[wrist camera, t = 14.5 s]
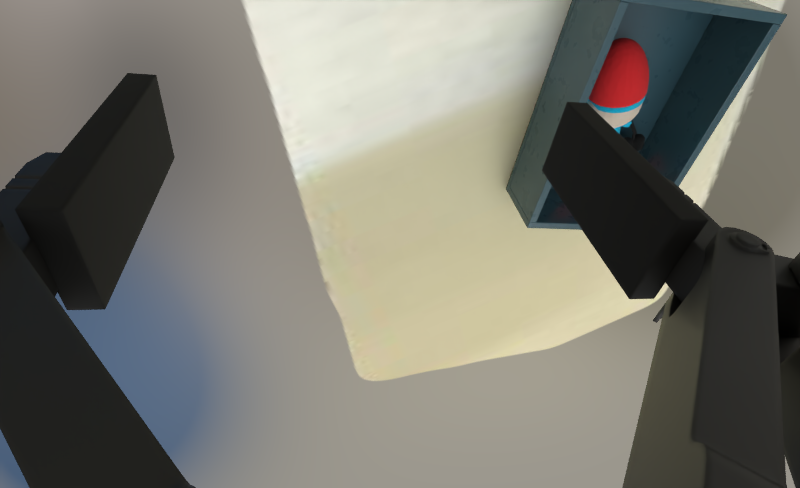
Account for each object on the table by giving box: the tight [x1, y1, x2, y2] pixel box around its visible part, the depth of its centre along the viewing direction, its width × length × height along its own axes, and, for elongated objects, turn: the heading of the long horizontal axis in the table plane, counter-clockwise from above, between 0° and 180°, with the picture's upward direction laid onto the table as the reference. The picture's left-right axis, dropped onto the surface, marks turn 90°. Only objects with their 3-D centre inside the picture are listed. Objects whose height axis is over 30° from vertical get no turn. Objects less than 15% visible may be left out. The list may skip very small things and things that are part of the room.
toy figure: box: [587, 38, 649, 151], centre depth 42 cm, size 8×5×15 cm
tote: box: [506, 0, 787, 230], centre depth 41 cm, size 20×13×7 cm, turn 171°
